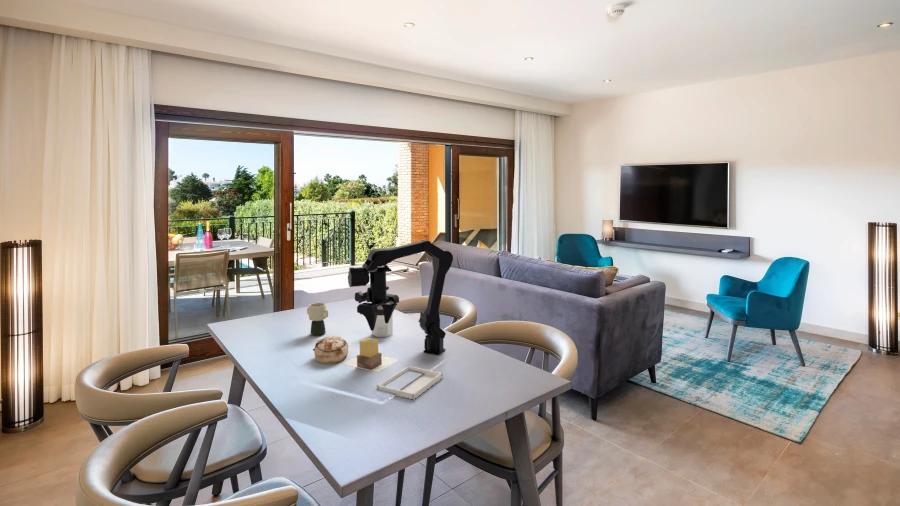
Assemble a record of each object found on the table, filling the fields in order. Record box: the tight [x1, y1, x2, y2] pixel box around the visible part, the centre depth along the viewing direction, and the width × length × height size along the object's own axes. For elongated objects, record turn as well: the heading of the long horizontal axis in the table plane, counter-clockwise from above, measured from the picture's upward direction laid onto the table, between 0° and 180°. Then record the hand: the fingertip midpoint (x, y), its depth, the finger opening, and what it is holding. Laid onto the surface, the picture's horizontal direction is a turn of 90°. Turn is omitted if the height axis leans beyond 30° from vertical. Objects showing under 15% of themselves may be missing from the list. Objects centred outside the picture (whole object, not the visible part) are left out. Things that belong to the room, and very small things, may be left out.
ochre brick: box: [359, 337, 379, 358], centre depth 159 cm, size 4×4×5 cm
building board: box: [342, 355, 399, 373], centre depth 163 cm, size 15×13×1 cm
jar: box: [371, 306, 394, 338], centre depth 196 cm, size 9×8×12 cm
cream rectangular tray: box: [376, 365, 443, 401], centre depth 146 cm, size 13×18×2 cm
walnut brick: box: [356, 352, 383, 371], centre depth 159 cm, size 6×6×4 cm
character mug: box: [306, 302, 329, 336], centre depth 195 cm, size 11×7×13 cm, turn 66°
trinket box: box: [312, 335, 349, 365], centre depth 167 cm, size 13×15×8 cm
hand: (379, 326), depth 166 cm, fingers open, 9 cm apart
